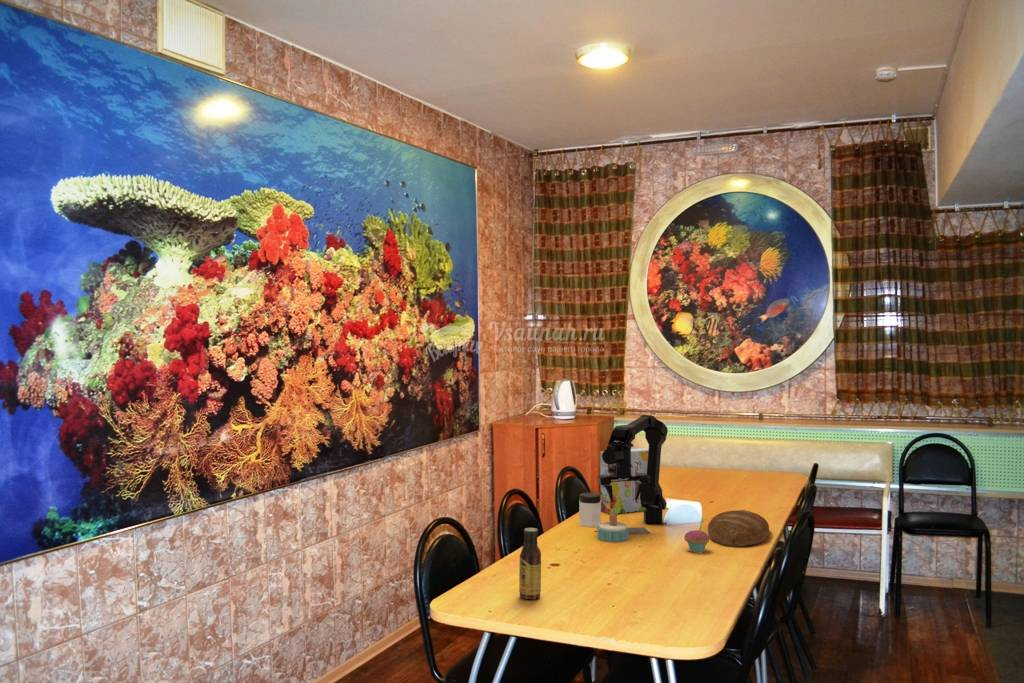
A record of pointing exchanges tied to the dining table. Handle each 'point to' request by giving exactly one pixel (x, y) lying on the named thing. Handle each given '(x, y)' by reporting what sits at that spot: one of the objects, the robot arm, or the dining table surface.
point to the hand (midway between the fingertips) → (623, 501)
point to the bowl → (612, 535)
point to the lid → (613, 524)
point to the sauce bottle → (530, 566)
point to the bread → (738, 528)
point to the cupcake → (697, 539)
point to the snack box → (624, 485)
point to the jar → (589, 509)
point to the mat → (638, 530)
